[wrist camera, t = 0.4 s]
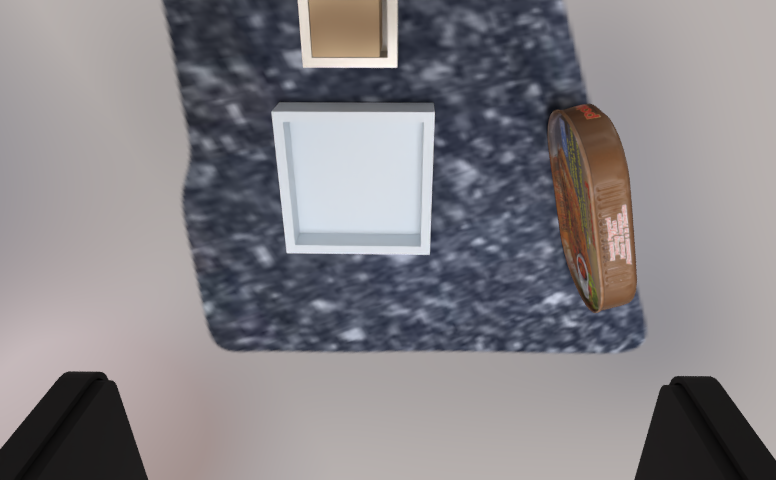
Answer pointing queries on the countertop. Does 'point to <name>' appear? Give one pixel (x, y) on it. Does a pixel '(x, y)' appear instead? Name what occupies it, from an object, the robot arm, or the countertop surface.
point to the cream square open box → (385, 59)
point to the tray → (355, 176)
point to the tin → (593, 205)
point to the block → (346, 28)
